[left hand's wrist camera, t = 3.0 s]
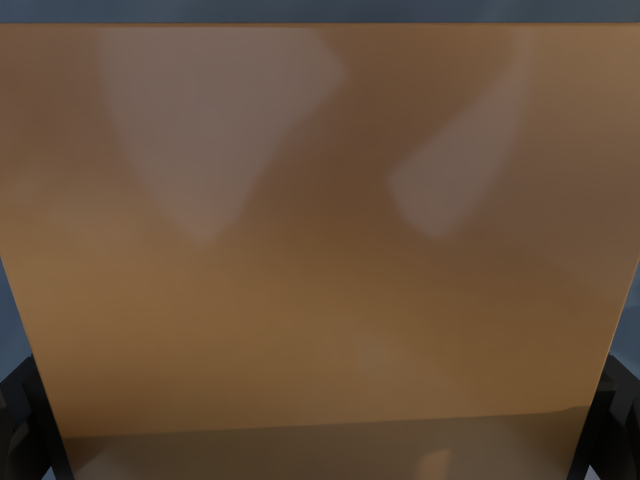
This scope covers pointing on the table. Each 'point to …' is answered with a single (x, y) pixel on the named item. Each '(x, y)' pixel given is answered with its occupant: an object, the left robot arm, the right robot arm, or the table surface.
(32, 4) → the table surface
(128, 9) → the table surface
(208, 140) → the brown wooden beam
